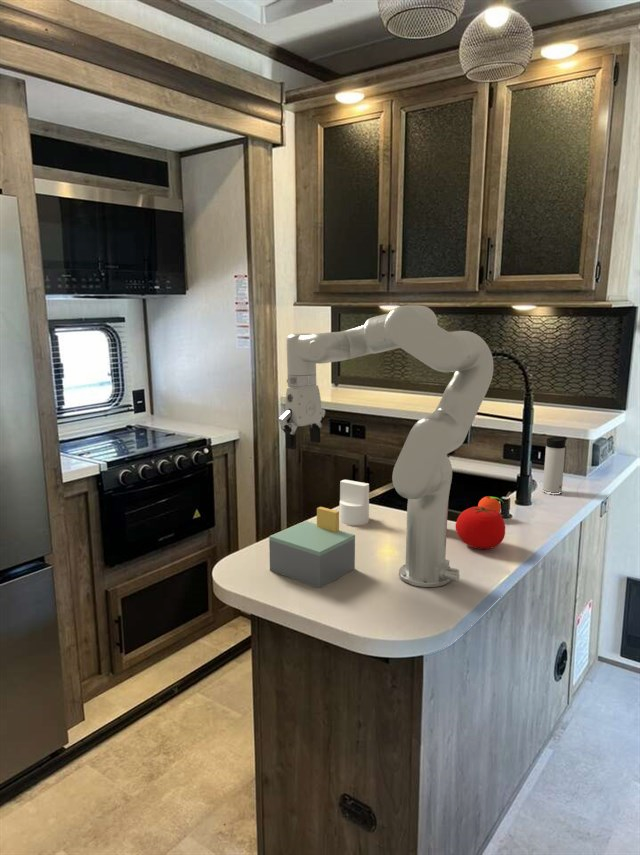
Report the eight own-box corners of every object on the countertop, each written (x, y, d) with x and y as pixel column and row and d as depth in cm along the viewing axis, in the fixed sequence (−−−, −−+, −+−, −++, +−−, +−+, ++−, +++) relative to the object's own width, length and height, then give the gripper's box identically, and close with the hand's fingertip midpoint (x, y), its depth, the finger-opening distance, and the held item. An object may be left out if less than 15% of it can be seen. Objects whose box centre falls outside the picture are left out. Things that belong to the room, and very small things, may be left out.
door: (355, 542, 154) (355, 515, 153) (319, 560, 143) (319, 531, 142) (305, 528, 164) (305, 502, 163) (269, 543, 153) (268, 516, 152)
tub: (354, 568, 155) (355, 538, 154) (319, 588, 145) (319, 556, 143) (305, 553, 165) (305, 524, 164) (269, 570, 155) (269, 539, 153)
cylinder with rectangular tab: (333, 521, 189) (334, 483, 187) (349, 513, 197) (349, 477, 194) (359, 527, 184) (359, 488, 182) (374, 518, 192) (374, 481, 189)
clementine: (502, 515, 195) (503, 493, 194) (505, 522, 188) (506, 500, 187) (476, 513, 196) (477, 492, 195) (478, 521, 190) (479, 499, 188)
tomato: (497, 558, 162) (499, 518, 160) (449, 547, 169) (451, 509, 167) (510, 543, 172) (512, 505, 170) (464, 534, 179) (466, 497, 177)
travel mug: (565, 495, 215) (569, 439, 211) (546, 495, 215) (550, 439, 212) (558, 490, 221) (563, 435, 218) (540, 490, 222) (544, 435, 218)
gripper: (290, 385, 153) (292, 453, 156) (333, 379, 166) (334, 441, 169) (268, 383, 158) (270, 449, 161) (312, 377, 171) (313, 438, 174)
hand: (303, 445), depth 165 cm, fingers open, 9 cm apart
